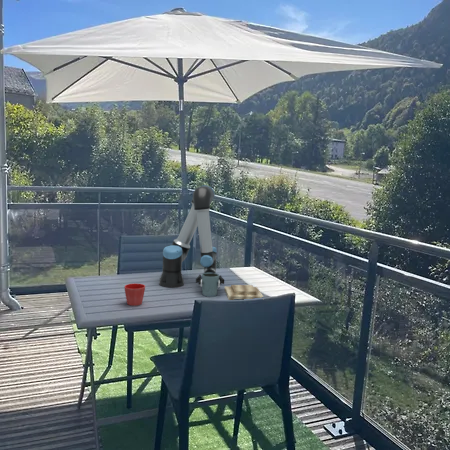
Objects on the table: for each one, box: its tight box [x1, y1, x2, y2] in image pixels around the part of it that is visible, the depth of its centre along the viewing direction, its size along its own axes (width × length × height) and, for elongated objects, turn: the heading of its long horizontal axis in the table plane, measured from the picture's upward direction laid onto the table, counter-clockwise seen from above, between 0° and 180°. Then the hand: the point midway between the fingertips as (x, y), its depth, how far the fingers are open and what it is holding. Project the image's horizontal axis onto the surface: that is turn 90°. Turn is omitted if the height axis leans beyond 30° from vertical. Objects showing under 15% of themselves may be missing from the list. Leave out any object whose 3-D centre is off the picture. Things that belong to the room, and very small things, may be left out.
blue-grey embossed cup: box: [201, 272, 220, 298], centre depth 262 cm, size 10×10×12 cm
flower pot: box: [124, 283, 146, 307], centre depth 239 cm, size 11×11×10 cm
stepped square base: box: [223, 284, 264, 301], centre depth 265 cm, size 20×20×4 cm
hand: (210, 284), depth 258 cm, fingers closed on blue-grey embossed cup, 9 cm apart
